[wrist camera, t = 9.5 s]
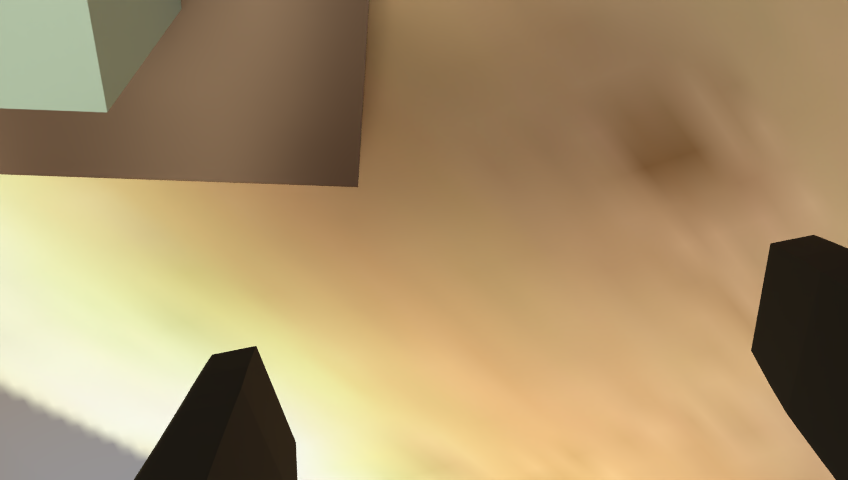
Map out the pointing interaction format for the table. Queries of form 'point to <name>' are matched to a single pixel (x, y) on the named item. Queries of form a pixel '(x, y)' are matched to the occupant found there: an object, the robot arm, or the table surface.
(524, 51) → the table surface
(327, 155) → the walnut base
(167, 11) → the sage block
